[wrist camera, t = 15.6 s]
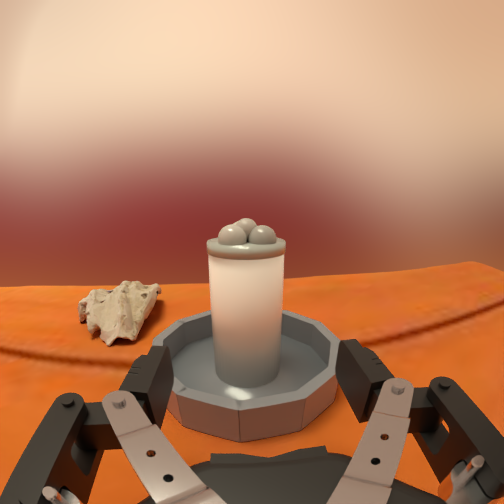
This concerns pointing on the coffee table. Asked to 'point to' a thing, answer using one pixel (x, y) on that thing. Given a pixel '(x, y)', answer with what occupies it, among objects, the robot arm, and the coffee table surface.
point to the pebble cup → (246, 303)
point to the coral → (118, 310)
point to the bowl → (257, 398)
